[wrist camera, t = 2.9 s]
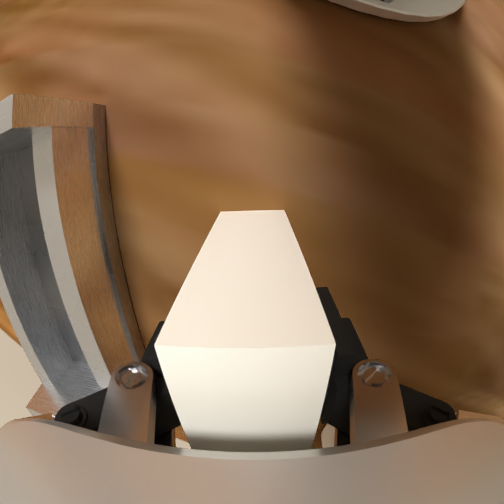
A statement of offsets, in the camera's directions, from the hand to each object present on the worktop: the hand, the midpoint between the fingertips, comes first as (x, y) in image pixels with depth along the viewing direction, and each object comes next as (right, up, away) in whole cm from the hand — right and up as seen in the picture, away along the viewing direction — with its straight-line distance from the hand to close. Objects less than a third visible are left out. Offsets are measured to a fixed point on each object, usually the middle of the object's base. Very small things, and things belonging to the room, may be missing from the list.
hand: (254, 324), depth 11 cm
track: (-9, +2, +1) cm, 9 cm away
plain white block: (0, +1, +2) cm, 2 cm away
